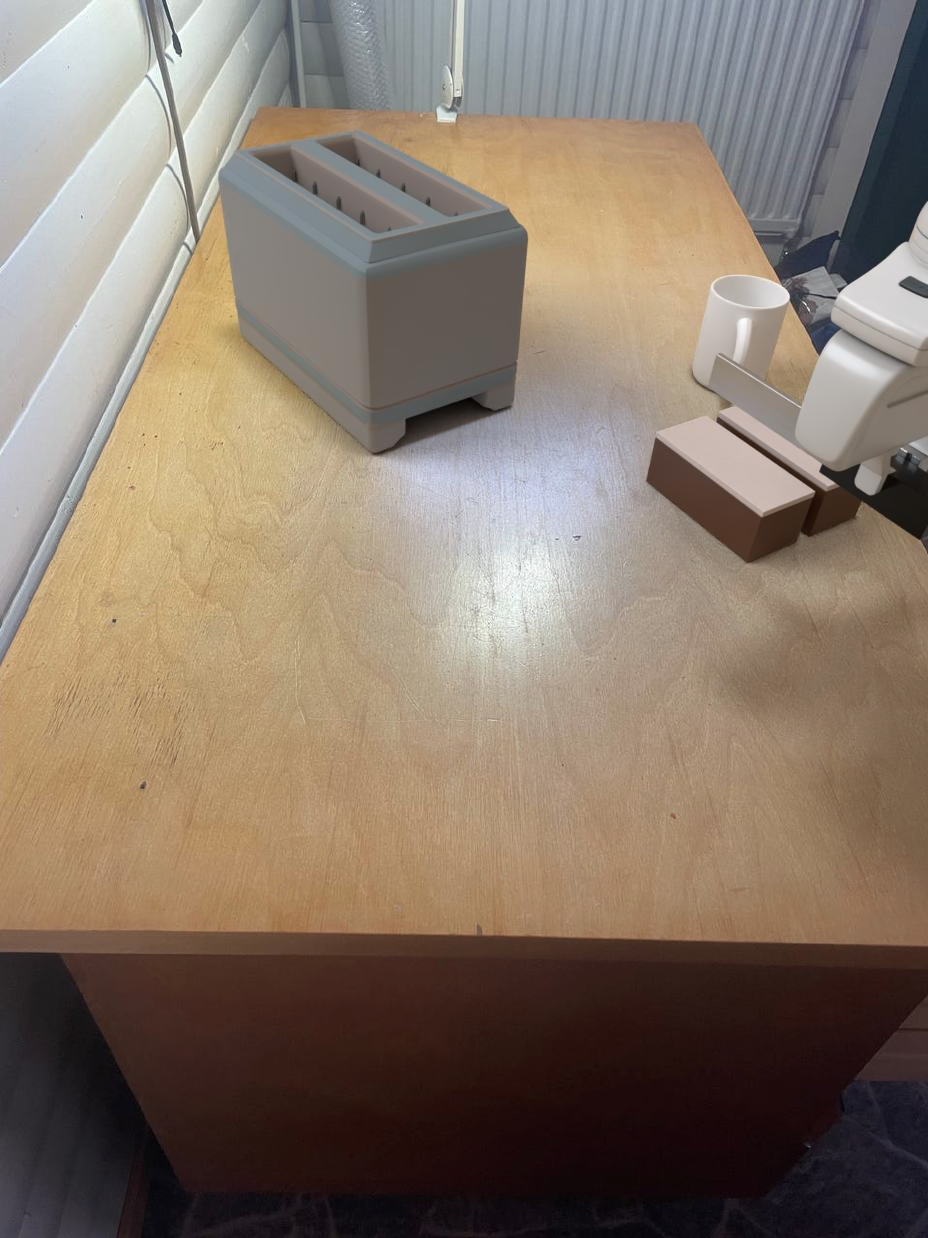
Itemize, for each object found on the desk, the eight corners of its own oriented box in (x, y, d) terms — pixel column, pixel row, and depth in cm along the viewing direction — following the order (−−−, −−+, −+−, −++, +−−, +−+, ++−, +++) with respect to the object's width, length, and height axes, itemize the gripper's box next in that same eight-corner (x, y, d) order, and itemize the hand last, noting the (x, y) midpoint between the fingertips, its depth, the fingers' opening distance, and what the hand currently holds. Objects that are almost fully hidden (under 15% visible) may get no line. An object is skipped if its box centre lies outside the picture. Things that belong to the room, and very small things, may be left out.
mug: (763, 419, 98) (791, 329, 91) (686, 407, 99) (707, 316, 92) (764, 366, 106) (789, 280, 99) (692, 355, 107) (712, 269, 100)
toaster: (357, 290, 117) (350, 114, 102) (519, 406, 98) (537, 210, 83) (222, 325, 108) (194, 138, 94) (370, 459, 89) (362, 251, 75)
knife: (943, 529, 62) (962, 493, 60) (919, 540, 61) (937, 504, 59) (721, 382, 75) (730, 349, 73) (697, 390, 74) (706, 356, 72)
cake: (855, 516, 86) (876, 467, 82) (746, 563, 80) (763, 511, 76) (750, 443, 94) (765, 395, 90) (645, 480, 89) (656, 431, 85)
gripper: (1031, 237, 60) (945, 420, 69) (816, 299, 51) (751, 497, 61) (1123, 274, 56) (1018, 462, 66) (907, 347, 48) (823, 550, 57)
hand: (888, 480), depth 63 cm, fingers closed on knife, 2 cm apart
